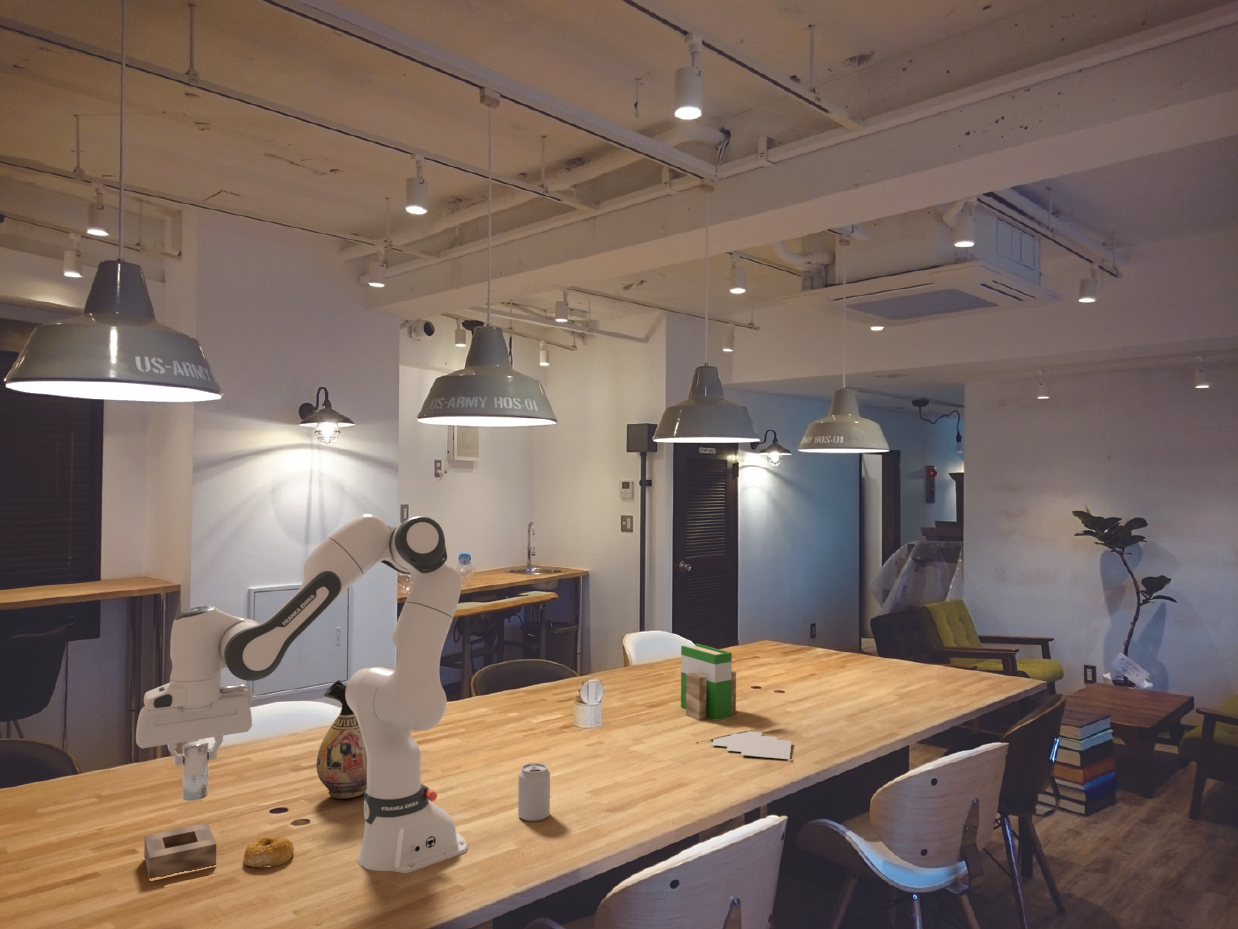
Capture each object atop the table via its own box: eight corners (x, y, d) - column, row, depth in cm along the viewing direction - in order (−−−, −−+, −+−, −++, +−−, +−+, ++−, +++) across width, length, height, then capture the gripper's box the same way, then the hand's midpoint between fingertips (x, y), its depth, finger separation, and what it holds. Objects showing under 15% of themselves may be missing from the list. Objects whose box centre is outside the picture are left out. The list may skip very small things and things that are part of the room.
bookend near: (692, 713, 286) (693, 672, 286) (706, 719, 280) (706, 676, 280) (685, 715, 284) (686, 673, 284) (699, 720, 278) (699, 678, 278)
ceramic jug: (313, 807, 204) (315, 683, 204) (318, 784, 219) (320, 668, 219) (386, 800, 209) (387, 679, 209) (386, 778, 224) (387, 665, 224)
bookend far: (722, 708, 293) (722, 667, 293) (735, 713, 287) (736, 671, 287) (715, 709, 291) (716, 668, 291) (729, 714, 285) (729, 673, 285)
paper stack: (708, 754, 246) (708, 751, 246) (718, 728, 271) (718, 726, 271) (789, 761, 241) (789, 759, 241) (792, 735, 265) (792, 732, 265)
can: (520, 825, 195) (521, 773, 195) (515, 812, 203) (516, 762, 203) (552, 822, 197) (553, 770, 197) (546, 809, 205) (547, 760, 205)
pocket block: (207, 846, 183) (207, 823, 183) (216, 868, 173) (216, 843, 173) (144, 859, 176) (144, 835, 176) (149, 883, 166) (149, 858, 166)
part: (206, 790, 168) (206, 739, 168) (209, 797, 164) (209, 746, 164) (181, 794, 165) (181, 743, 165) (183, 802, 162) (183, 750, 162)
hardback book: (680, 715, 293) (681, 646, 293) (697, 711, 297) (697, 643, 297) (714, 728, 279) (715, 655, 279) (731, 724, 283) (731, 652, 283)
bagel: (301, 848, 183) (301, 826, 183) (284, 872, 172) (284, 849, 172) (254, 849, 182) (254, 827, 182) (234, 873, 171) (234, 850, 171)
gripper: (250, 680, 173) (249, 747, 173) (135, 694, 162) (135, 766, 162) (255, 687, 168) (255, 756, 168) (137, 702, 157) (137, 777, 157)
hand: (195, 761), depth 165 cm, fingers closed on part, 4 cm apart
